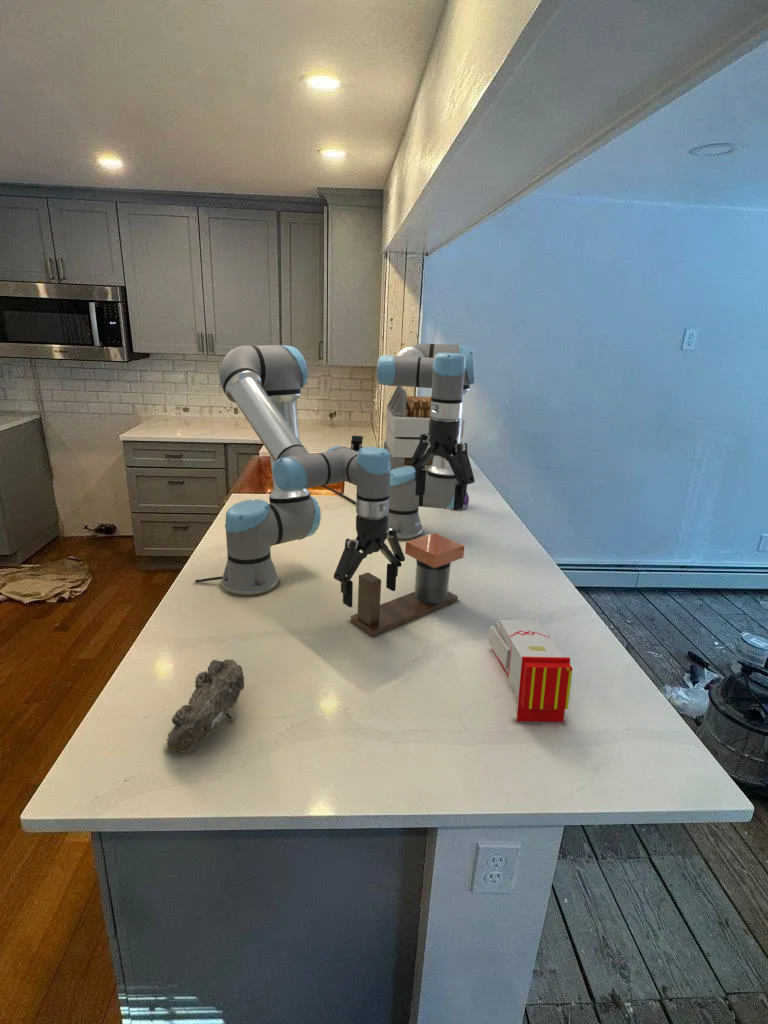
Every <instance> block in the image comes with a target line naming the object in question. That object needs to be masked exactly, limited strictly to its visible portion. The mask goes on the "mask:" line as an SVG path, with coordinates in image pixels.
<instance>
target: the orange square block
mask: <svg viewBox="0 0 768 1024" xmlns="http://www.w3.org/2000/svg"><path fill="white" fill-rule="evenodd" d="M404 547H405V549H404V555H406V556H409V557H411V558H413V559H415V560H416V559H417V560H419V561H421V562H423V563H425V564H427V565H429V566H431V567H433V568H436V567H439V566H442V565H444V564H447V563H450V562H451V563H452V562H453V563H454V562H455V561H459V560H461V559H464V555H465V545H463V544H462V543H459V542H457V541H455V540H453V539H450V538H447V537H445V536H443V535H441V534H439V533H436V532H433V533H430V534H426V535H423V536H420V537H418V538H415V539H411V540H405V545H404Z"/></svg>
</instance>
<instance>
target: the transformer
mask: <svg viewBox="0 0 768 1024" xmlns="http://www.w3.org/2000/svg"><path fill="white" fill-rule="evenodd" d="M407 394H408V393H407V390H406V389H404V388H403V386H396V388H395V390H394V392H393V394H392V395H391V398H390V400H389V402H388V404H387V405H386V413H385V414H386V415H385V423H386V428H385V438H384V442H383V448H384V449H386V450H388V451H389V453H390V464H391V470H393V469H396V468H400V467H405V466H406V467H411V466H410V462H411V459H412V457H413V455H414V453H415V451H416V449H417V447H418V444H419V442H420V436H421V434H427V433H429V420H430V419H431V418H432V417H431V416H430V407H431V397H432V396H415V395H414V396H413V395H412V396H411V395H407ZM464 429H465V419H464V418H462V425H461V436H460V443H464V441H463V440H462V439H463V438H464V431H465V430H464ZM430 446H431V445H430V443H429V445H428V447H427V449H426V451H427V450H428V448H429V447H430ZM426 451H425V453H426ZM425 453H424V455H425ZM432 463H433V458H432V459H431V461H430V462H429V463H428V464H427V465H426V466H425V467H430V466H431V465H432Z"/></svg>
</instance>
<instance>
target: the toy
mask: <svg viewBox="0 0 768 1024" xmlns="http://www.w3.org/2000/svg"><path fill="white" fill-rule="evenodd" d="M488 646H490V648H491V651H492V653H493V655H494V656H495V658H496V660H497V661H498V663H499V665H500V666H501V668H502V670H503V672H504V673H505V676H506V678H508V681H509V683H510V685H511V687H512V689H513V692H514V694H515V695H516V697H517V708H516V709H517V710H516V722H519V723H520V722H521V723H522V722H523V723H525V722H526V723H564V720H565V712H566V710H569V704H570V703H569V702H570V695H571V685H572V677H573V667H572V665H571V658H570V657H568V656H567V657H566V656H564V654H563V653H562V652H561V650H560V649H559V648H558V646H557V645H556V644H555V642H554V641H553V640H552V638H551V637H550V636H549V634H548V633H547V631H546V630H545V629H544V626H543V625H541V624H540V622H539V620H536V619H535V620H531V619H528V620H527V619H499V620H498V622H495V626H494V625H490V627H489V635H488Z"/></svg>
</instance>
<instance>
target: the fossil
mask: <svg viewBox="0 0 768 1024" xmlns="http://www.w3.org/2000/svg"><path fill="white" fill-rule="evenodd" d="M243 670H244V669H243V667H242V665H240V664H237V662H236V661H235V660H234V659H232V658H231V659H227V658H226V659H224V660H223V661H222V660H217V659H212V660H211V661H210V663H209V665H208V666H207V671H201V672H199V673H198V674H197V675H196V676H195V680H194V684H195V685H194V687H195V689H194V690H193V693H192V694H191V697H190V698H189V700H188V704H184V705H182V706H181V707H180V709H177V710H176V711H175V713H174V715H173V716H172V718H171V723H172V724H173V727H172V730H171V731H170V732H168V734H167V738H166V741H167V742H166V745H167V749H168V750H169V751H173V752H174V753H176V754H178V753H182V752H188V751H189V752H192V751H193V750H195V748H196V747H197V746H199V744H200V743H201V742H203V741H204V740H205V739H206V738H207V737H208V736H209V735H210V734H211V733H212V732H214V730H215V729H217V727H218V726H219V724H220V722H221V721H222V720H223V719H224V718H225V716H226V717H227V719H229V720H233V717H232V715H230V714H229V710H230V709H231V708H234V706H235V704H236V703H237V702H238V699H239V697H240V695H241V693H242V691H243V690H245V689H244V688H245V675H244V671H243Z"/></svg>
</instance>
